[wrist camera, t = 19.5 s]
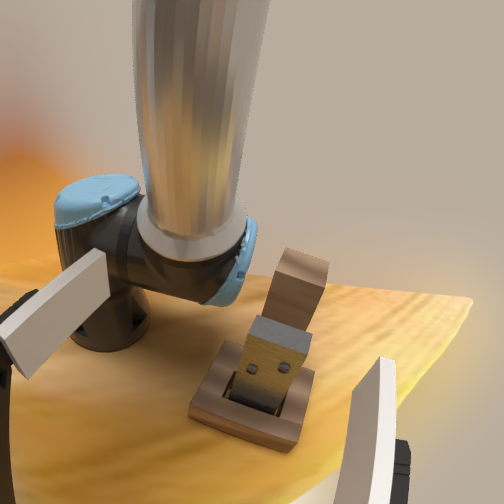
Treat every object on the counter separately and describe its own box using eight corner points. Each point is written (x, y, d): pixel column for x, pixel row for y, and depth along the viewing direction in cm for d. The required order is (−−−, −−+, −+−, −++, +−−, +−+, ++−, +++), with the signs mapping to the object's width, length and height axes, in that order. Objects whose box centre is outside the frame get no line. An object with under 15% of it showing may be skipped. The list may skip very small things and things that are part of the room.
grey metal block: (266, 426, 35) (307, 356, 27) (224, 411, 36) (247, 335, 28) (273, 406, 38) (312, 331, 30) (233, 392, 39) (257, 312, 31)
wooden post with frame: (287, 453, 32) (350, 379, 23) (188, 416, 34) (198, 326, 25) (312, 358, 47) (356, 271, 38) (235, 331, 49) (258, 237, 40)
